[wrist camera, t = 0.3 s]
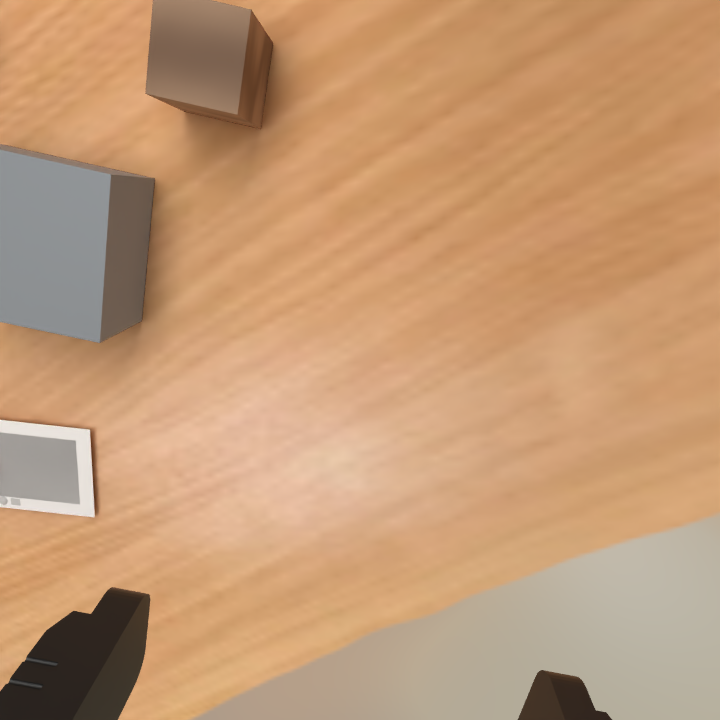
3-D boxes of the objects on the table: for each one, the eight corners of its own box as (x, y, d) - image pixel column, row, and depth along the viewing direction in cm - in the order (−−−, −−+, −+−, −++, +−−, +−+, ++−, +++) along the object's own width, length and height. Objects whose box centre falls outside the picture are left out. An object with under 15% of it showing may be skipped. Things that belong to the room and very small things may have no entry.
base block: (5, 144, 34) (-70, 134, 29) (154, 178, 35) (110, 174, 29) (4, 291, 37) (-64, 308, 32) (141, 321, 38) (99, 342, 32)
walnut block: (193, 24, 32) (154, -14, 26) (273, 43, 32) (251, 9, 26) (184, 111, 34) (145, 93, 28) (261, 128, 34) (237, 114, 28)
